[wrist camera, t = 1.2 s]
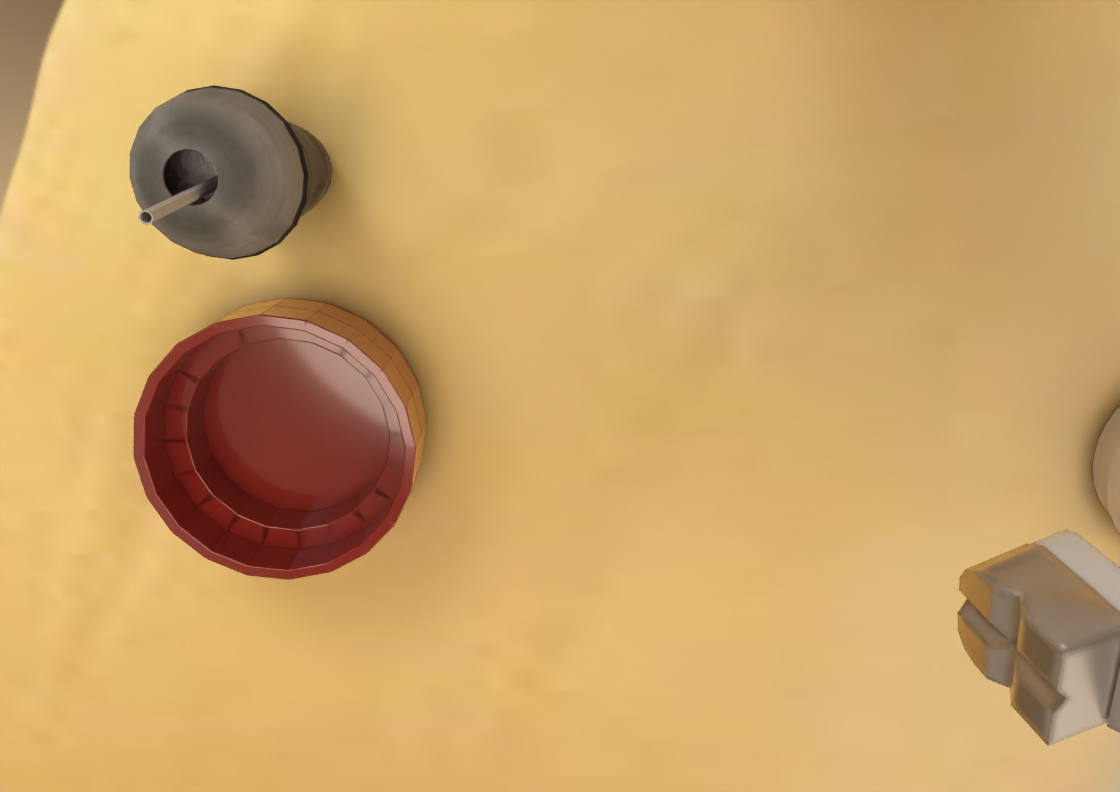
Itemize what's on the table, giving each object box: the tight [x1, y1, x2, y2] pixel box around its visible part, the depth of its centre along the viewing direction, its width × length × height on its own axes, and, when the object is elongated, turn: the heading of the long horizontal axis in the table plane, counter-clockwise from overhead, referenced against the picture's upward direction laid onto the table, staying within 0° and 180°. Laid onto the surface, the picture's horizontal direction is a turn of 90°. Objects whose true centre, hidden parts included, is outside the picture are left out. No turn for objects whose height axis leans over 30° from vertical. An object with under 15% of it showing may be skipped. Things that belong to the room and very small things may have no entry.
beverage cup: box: [130, 86, 332, 260], centre depth 40 cm, size 7×7×20 cm
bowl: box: [134, 298, 426, 580], centre depth 50 cm, size 15×15×6 cm
